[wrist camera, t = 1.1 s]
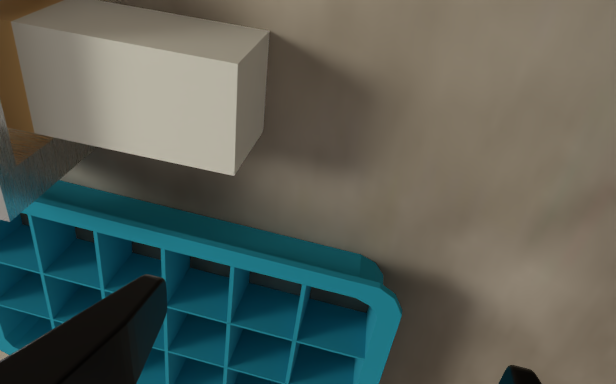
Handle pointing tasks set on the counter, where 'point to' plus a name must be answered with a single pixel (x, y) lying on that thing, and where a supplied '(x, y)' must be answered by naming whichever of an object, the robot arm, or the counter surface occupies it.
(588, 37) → the counter surface
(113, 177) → the counter surface
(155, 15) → the tan-tipped white bar
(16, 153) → the gray rectangular block
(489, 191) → the counter surface
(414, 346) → the counter surface
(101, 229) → the ice cube tray
